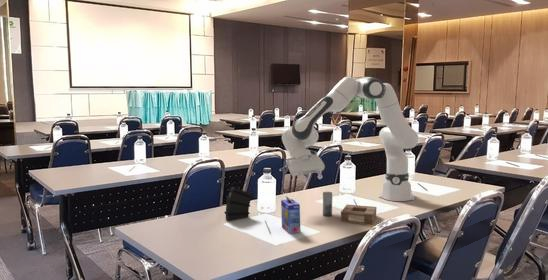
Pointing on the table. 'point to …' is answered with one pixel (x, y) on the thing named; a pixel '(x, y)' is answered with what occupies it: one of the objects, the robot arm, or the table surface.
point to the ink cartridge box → (290, 215)
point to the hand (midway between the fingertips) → (313, 179)
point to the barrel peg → (327, 204)
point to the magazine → (237, 204)
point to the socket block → (358, 214)
